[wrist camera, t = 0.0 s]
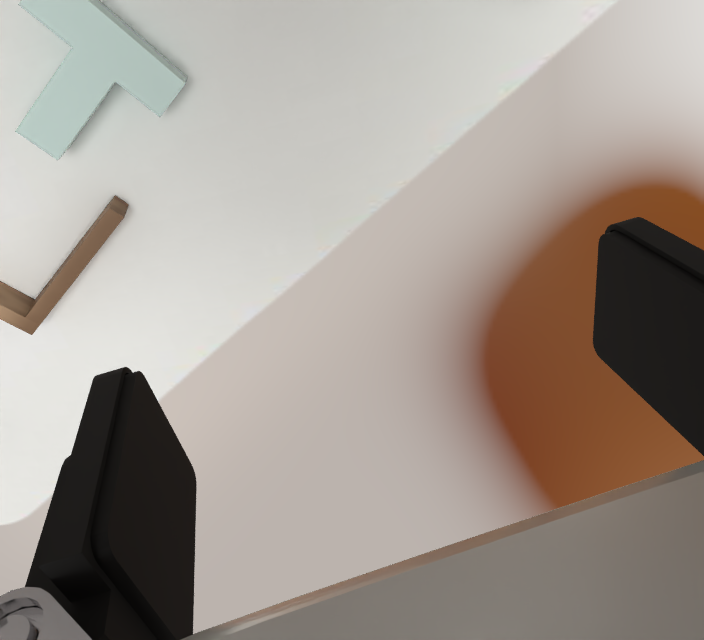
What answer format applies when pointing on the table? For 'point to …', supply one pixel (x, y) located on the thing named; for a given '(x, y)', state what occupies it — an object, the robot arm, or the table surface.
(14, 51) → the table surface
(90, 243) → the corral
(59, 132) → the tee block
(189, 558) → the robot arm
